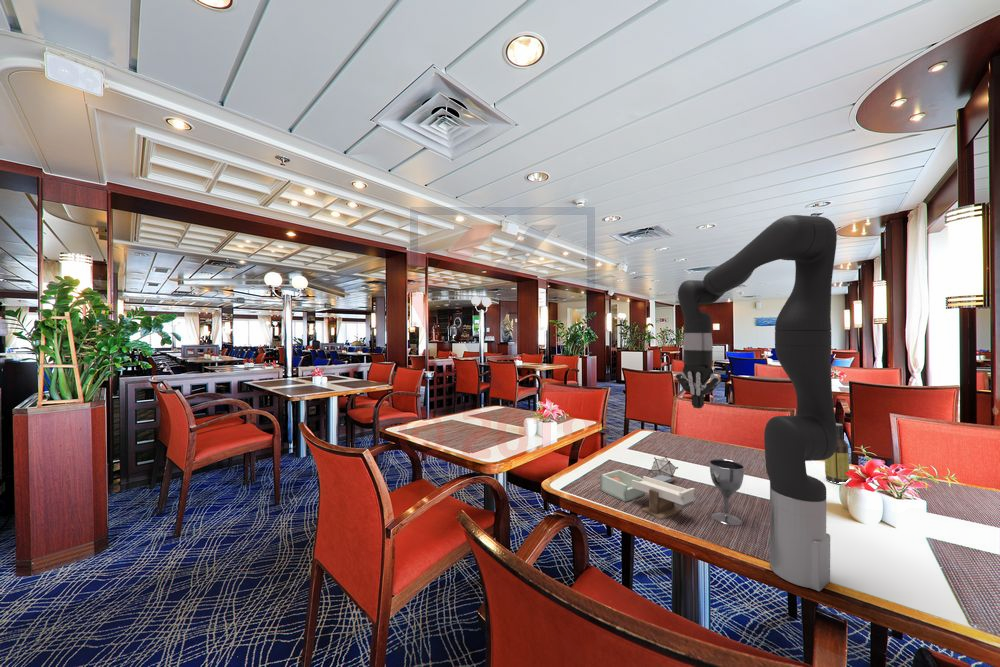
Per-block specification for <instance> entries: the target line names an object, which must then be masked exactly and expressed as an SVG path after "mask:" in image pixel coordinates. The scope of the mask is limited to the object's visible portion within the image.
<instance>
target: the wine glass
mask: <svg viewBox="0 0 1000 667" xmlns="http://www.w3.org/2000/svg"><path fill="white" fill-rule="evenodd" d="M744 470H745V466H744V465H743V464H741V463H740V462H737V461H735V460H731V459H722V458H714V459H710V460H709V473H710V479H711V481H712V483H713V485H714V486H715V488H716V489H717V490H718V491H719V492H720V494H721V495H722V498H723V502H724V512H723V511H722V512H721V511H717V512H712V513H711V518H712V519H713V520H714V521H716V522H717V523H721V524H723V525H728V526H740V525H742V524H743V521H742V519H740V517H738V516H736V515H733V514H731V513H729V504H730V503H729V501H730V499H731V497H732V496H733V494H735V493H736V492H738V490H740V489H741V487H742V486H743V480H744V477H745V476H744V475H745V474H744V473H745V471H744Z"/></svg>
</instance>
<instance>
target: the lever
mask: <svg viewBox="0 0 1000 667" xmlns="http://www.w3.org/2000/svg"><path fill="white" fill-rule="evenodd" d="M642 479H643V481H640V482H638V481H635V480H632V488H634V489H637V490H640V491H643V492H645V494H646V493H647V494H649V490H650V489H652V490H654V491H657V492H659V497H661V498H663V499H666V500H669V501H672V502H675V506H676V507H679V508H682V510H683V509H686V508H688V507H690V506H692V505H693V504H694V501H696V500H697V499H696V488H694V487H691V488H685V487H681V486H678V485H675V484H672V483H670V482H674V477H672V478H671V477H667V476H664V475H659V476H653V477H649V476H645V475H643V476H642Z"/></svg>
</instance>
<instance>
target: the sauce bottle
mask: <svg viewBox="0 0 1000 667" xmlns="http://www.w3.org/2000/svg"><path fill="white" fill-rule="evenodd" d="M836 428H837V448H836V451H835V453H834V454H833V455H832V456H831V457H830V458H828V459H825V460H824V473H825V480H826V479H827V480H829V481H832V482H836V483H839V482H846V481H847V480H848V479H849V480H850V478H849V476H848V475H846V474H845V473H846V472H849V473H850V453H849V445H848V443H847V442H846V440H845V439H844V425H843V423H838V422H836ZM827 480H826V481H827ZM829 481H828V482H829Z"/></svg>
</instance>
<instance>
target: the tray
mask: <svg viewBox="0 0 1000 667" xmlns="http://www.w3.org/2000/svg"><path fill="white" fill-rule="evenodd" d="M599 476H600V477H599V480H600V481H599V484H600V485H599V486H600V490H599V491H601V492H602V493H604V494H607V495H609V496H612V497H613V498H616V499H617V500H620V501H622V502H624V503H628V502H631V501H634V500H636V499H639V498H641V497H644V496H646V495H645V494H646V492H643V491H640V490H637V489H634V488H632V480H635V481H638V482H640V481H643V477H640V476H637V475H634V474H631V473H629V472H627V471H624V470H621V469H615V470H613V471H609V472H606V473H602V474H599ZM614 477H617V478H619V479H620V480H621V482H619V481H617V480H614V479H612V478H614Z"/></svg>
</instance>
